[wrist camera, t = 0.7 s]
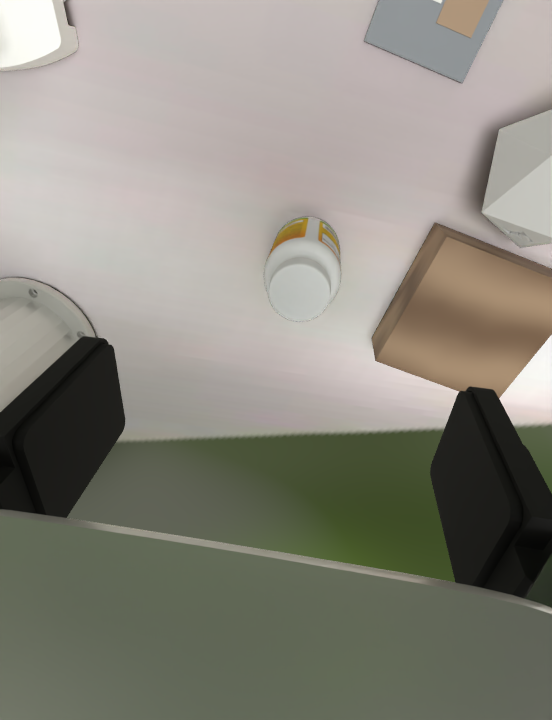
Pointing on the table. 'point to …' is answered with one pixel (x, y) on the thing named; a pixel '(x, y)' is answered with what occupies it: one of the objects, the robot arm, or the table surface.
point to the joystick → (34, 34)
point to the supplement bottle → (303, 269)
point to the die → (522, 182)
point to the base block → (466, 314)
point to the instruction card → (433, 32)
